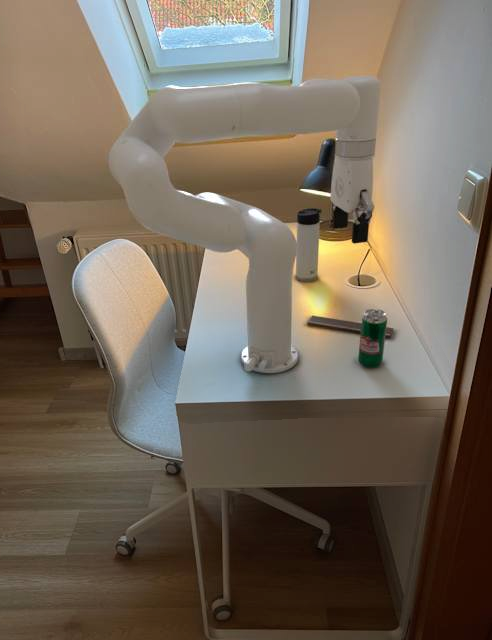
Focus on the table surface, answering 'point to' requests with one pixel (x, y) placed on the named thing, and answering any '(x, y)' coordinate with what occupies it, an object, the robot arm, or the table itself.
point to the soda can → (372, 338)
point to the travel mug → (307, 244)
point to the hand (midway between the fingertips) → (349, 234)
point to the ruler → (341, 325)
